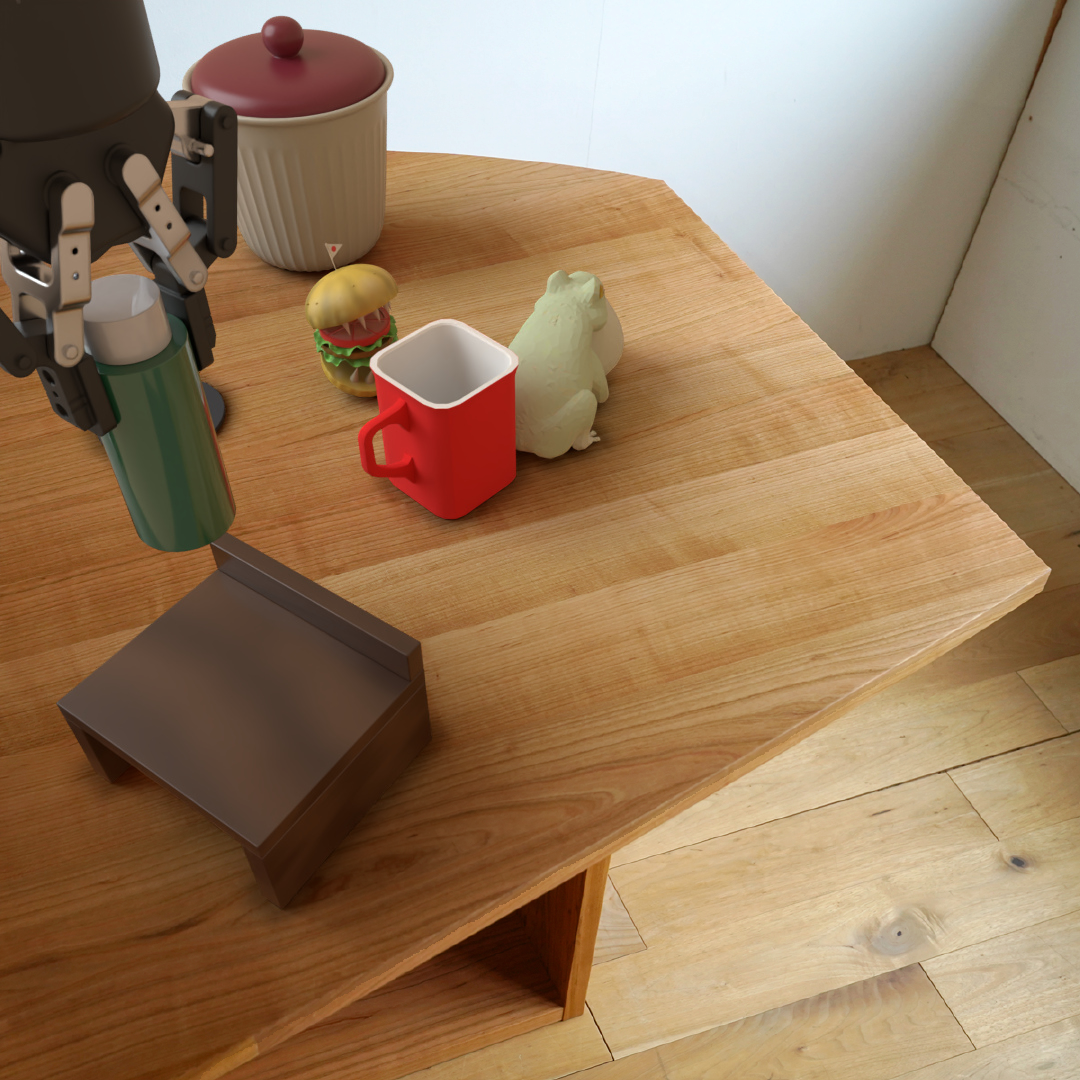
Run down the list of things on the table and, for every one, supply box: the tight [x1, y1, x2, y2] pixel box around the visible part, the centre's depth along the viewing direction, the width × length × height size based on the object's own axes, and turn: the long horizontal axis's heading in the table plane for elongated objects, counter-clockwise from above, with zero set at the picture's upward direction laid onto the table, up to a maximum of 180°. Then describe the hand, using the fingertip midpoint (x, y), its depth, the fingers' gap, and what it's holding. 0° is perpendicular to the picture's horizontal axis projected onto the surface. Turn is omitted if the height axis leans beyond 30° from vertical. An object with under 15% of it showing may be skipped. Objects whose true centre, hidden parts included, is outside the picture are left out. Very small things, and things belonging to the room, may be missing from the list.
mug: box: [357, 318, 519, 520], centre depth 74 cm, size 12×8×11 cm
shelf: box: [56, 531, 433, 910], centre depth 58 cm, size 13×15×9 cm
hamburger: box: [304, 243, 400, 398], centre depth 83 cm, size 8×7×12 cm
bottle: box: [83, 273, 237, 553], centre depth 44 cm, size 5×5×12 cm
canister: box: [181, 15, 395, 273], centre depth 94 cm, size 18×18×21 cm
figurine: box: [507, 269, 625, 460], centre depth 82 cm, size 10×16×10 cm, turn 157°
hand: (144, 391), depth 43 cm, fingers closed on bottle, 4 cm apart
